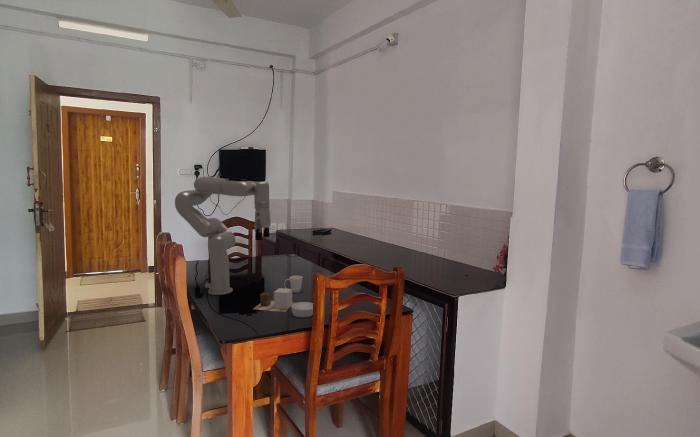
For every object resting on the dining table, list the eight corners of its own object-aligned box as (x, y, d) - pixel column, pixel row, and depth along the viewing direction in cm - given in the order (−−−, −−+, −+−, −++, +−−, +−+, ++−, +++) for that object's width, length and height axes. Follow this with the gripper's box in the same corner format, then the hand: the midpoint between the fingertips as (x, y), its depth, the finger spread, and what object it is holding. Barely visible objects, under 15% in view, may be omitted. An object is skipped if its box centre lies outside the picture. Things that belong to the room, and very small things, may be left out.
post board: (252, 312, 201) (252, 297, 200) (264, 303, 214) (264, 289, 213) (285, 315, 197) (284, 300, 196) (295, 305, 211) (295, 291, 210)
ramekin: (316, 321, 190) (316, 309, 189) (290, 321, 189) (290, 310, 189) (316, 312, 201) (316, 301, 201) (291, 313, 200) (291, 302, 200)
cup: (302, 293, 231) (302, 278, 230) (283, 293, 230) (283, 279, 229) (302, 289, 238) (302, 275, 237) (284, 290, 237) (284, 275, 236)
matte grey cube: (274, 308, 202) (273, 292, 201) (279, 303, 208) (279, 288, 207) (287, 309, 201) (287, 293, 200) (292, 304, 207) (292, 289, 206)
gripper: (261, 207, 212) (262, 241, 214) (275, 204, 229) (275, 236, 231) (247, 207, 214) (248, 241, 216) (262, 204, 230) (262, 235, 233)
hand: (262, 238), depth 223 cm, fingers open, 9 cm apart
